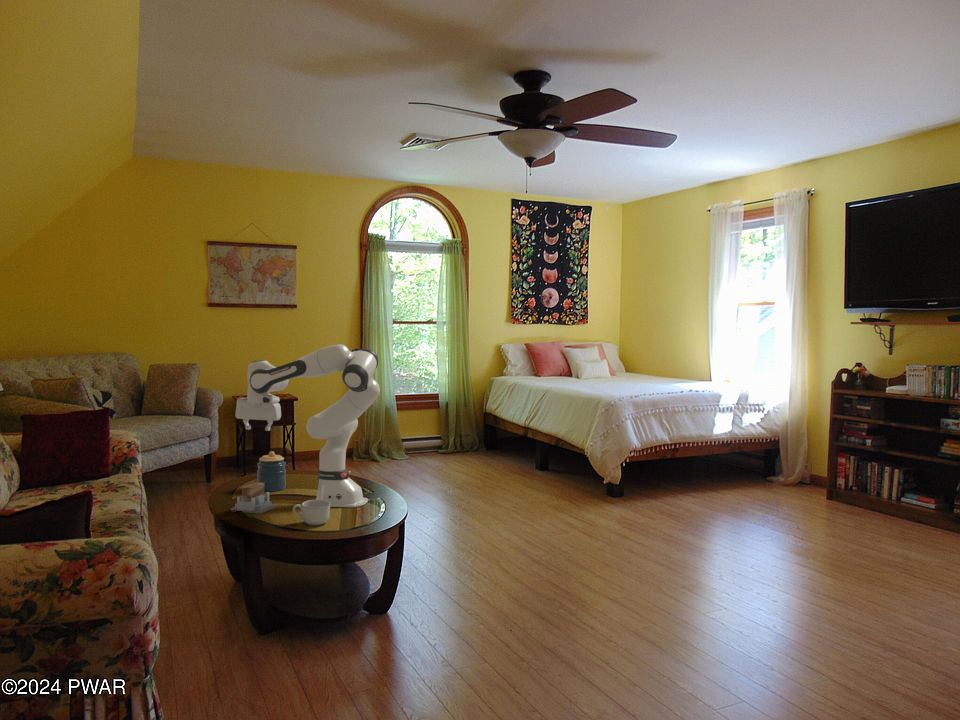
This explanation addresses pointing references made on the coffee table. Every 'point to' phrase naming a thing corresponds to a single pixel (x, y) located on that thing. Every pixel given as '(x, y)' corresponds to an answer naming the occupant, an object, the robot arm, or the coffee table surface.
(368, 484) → the coffee table surface
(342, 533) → the coffee table surface
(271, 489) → the canister
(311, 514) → the teacup
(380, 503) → the coffee table surface
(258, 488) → the tan cardboard carton
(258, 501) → the pale grey upright block
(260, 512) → the jig
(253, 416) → the robot arm
